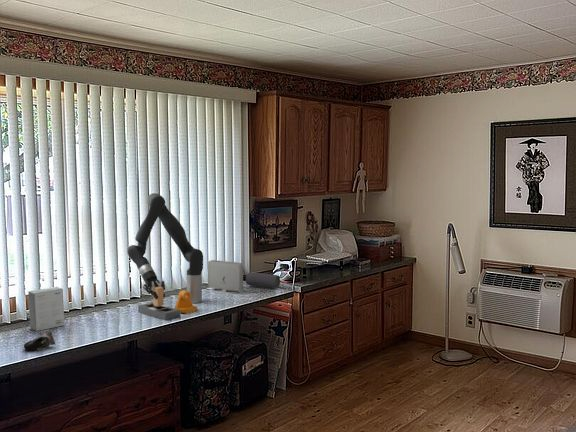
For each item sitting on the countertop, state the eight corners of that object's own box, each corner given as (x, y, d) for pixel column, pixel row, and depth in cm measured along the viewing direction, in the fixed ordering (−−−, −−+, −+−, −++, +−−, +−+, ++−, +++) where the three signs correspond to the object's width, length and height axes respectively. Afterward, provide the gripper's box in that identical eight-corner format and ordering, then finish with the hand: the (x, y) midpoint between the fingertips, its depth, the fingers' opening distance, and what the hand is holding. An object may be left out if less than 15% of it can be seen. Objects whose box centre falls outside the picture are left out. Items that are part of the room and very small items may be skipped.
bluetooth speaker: (280, 288, 412) (280, 273, 411) (274, 290, 403) (274, 276, 402) (251, 285, 421) (251, 271, 420) (245, 287, 412) (245, 273, 411)
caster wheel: (22, 356, 275) (36, 346, 285) (43, 353, 272) (56, 343, 281) (18, 343, 274) (32, 333, 283) (38, 340, 271) (51, 330, 280)
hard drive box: (58, 322, 322) (57, 286, 320) (64, 325, 316) (63, 288, 315) (29, 328, 311) (28, 290, 309) (35, 331, 306) (33, 293, 304)
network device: (206, 290, 402) (205, 261, 400) (213, 288, 410) (213, 259, 408) (238, 294, 390) (238, 264, 388) (245, 292, 398) (245, 262, 396)
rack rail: (138, 312, 345) (138, 304, 344) (152, 309, 352) (152, 301, 351) (165, 320, 327) (165, 312, 327) (180, 317, 334) (180, 309, 334)
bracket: (182, 314, 341) (181, 293, 339) (175, 312, 346) (174, 291, 345) (197, 311, 348) (197, 290, 347) (190, 308, 353) (190, 288, 352)
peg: (159, 303, 342) (159, 286, 341) (163, 305, 339) (163, 287, 338) (153, 305, 339) (153, 287, 338) (157, 306, 336) (157, 288, 335)
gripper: (139, 271, 337) (152, 296, 330) (160, 268, 347) (173, 292, 340) (134, 279, 341) (147, 303, 334) (155, 276, 351) (168, 299, 344)
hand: (160, 297), depth 337 cm, fingers closed on peg, 4 cm apart
